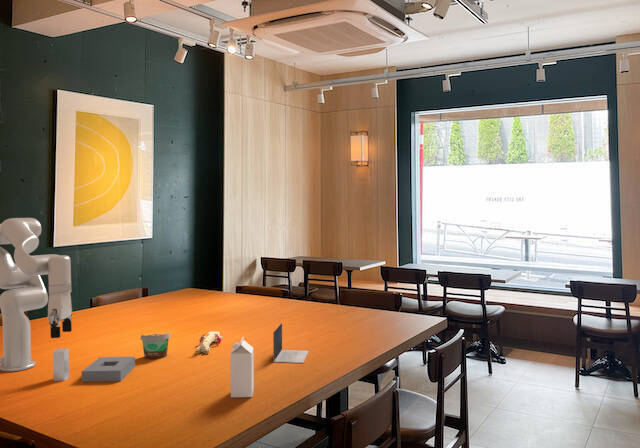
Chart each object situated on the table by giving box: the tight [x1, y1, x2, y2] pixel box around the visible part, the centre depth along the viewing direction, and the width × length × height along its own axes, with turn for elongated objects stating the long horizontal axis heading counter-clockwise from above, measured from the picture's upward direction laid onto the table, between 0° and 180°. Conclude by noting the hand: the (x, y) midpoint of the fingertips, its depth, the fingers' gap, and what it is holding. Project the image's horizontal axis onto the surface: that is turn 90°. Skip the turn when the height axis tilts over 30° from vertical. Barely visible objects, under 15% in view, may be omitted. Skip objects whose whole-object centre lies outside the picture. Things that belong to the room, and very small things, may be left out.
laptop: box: [272, 322, 310, 364], centre depth 224 cm, size 18×12×13 cm
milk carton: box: [229, 336, 255, 398], centre depth 179 cm, size 7×7×19 cm
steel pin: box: [52, 347, 70, 382], centre depth 195 cm, size 4×4×11 cm
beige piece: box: [194, 331, 224, 355], centre depth 240 cm, size 10×9×25 cm
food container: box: [140, 332, 171, 360], centre depth 223 cm, size 12×6×10 cm, turn 105°
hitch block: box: [81, 356, 136, 383], centre depth 201 cm, size 14×18×4 cm
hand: (61, 334), depth 194 cm, fingers open, 9 cm apart
